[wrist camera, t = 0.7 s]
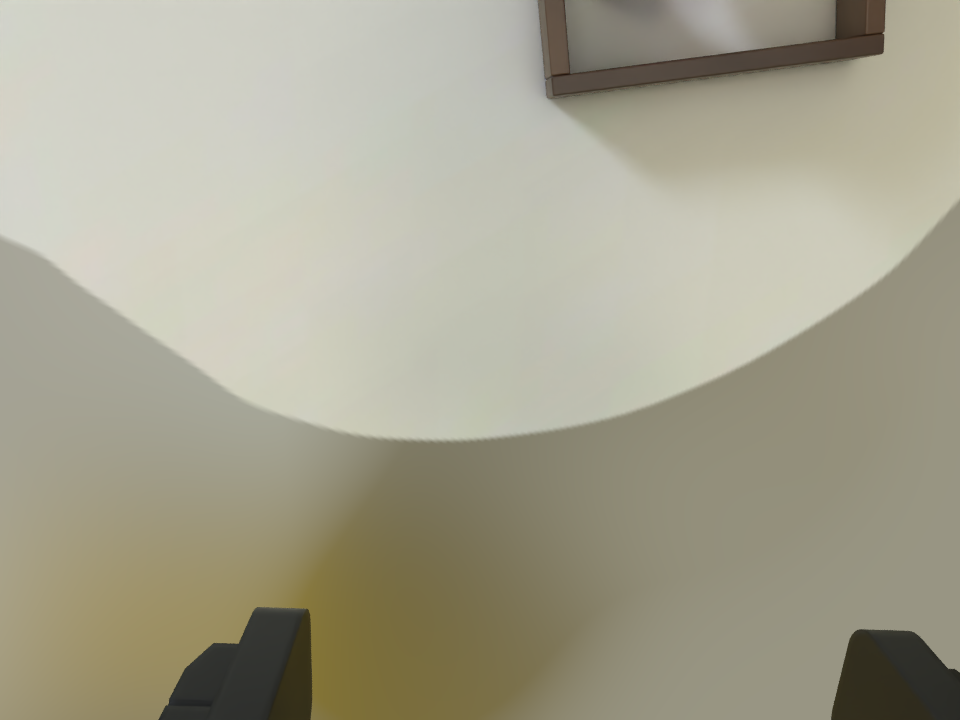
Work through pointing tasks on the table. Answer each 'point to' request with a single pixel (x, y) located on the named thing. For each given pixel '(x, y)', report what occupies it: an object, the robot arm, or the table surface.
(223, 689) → the robot arm
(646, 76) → the brown square frame
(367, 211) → the table surface
